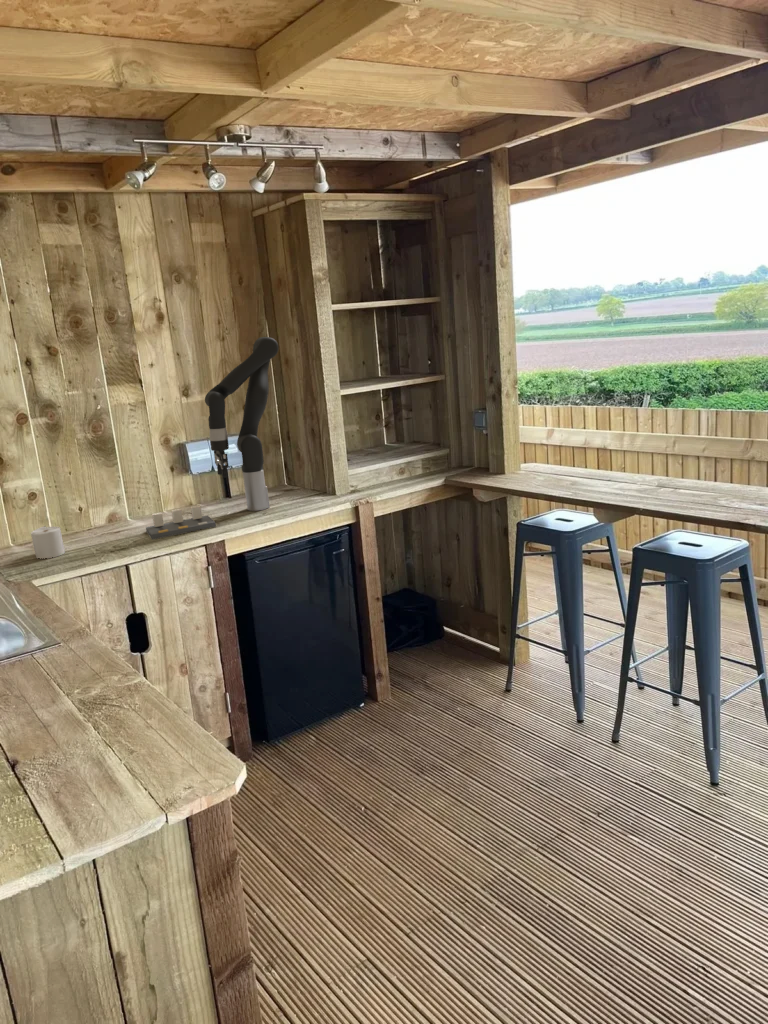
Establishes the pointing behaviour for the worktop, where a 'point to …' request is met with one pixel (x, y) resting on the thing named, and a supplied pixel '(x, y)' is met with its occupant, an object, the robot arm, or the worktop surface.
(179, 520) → the slider middle
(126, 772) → the worktop surface
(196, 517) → the slider
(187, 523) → the switch board
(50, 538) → the toilet tissue
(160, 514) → the slider
